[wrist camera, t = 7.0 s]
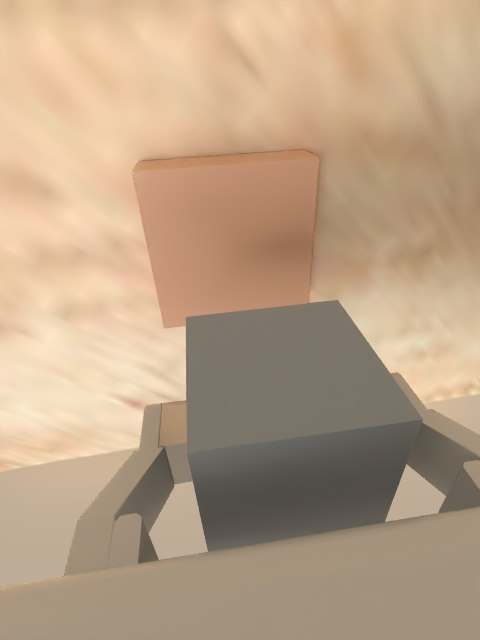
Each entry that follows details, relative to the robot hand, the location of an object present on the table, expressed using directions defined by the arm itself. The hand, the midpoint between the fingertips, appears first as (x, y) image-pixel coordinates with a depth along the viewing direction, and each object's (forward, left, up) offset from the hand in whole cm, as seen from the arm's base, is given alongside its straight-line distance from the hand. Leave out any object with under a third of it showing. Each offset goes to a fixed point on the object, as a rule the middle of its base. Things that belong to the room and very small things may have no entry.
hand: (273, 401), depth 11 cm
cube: (0, 0, -2) cm, 2 cm away
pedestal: (0, 0, -15) cm, 15 cm away
